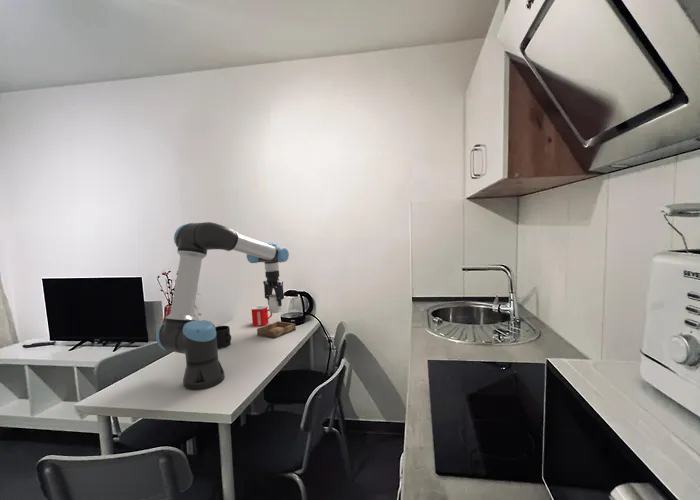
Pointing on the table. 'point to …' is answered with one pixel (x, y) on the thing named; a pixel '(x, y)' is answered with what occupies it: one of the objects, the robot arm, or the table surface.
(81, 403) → the table surface
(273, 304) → the shaker
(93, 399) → the table surface
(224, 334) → the mug
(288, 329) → the tray
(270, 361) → the table surface
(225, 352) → the table surface
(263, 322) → the mug
